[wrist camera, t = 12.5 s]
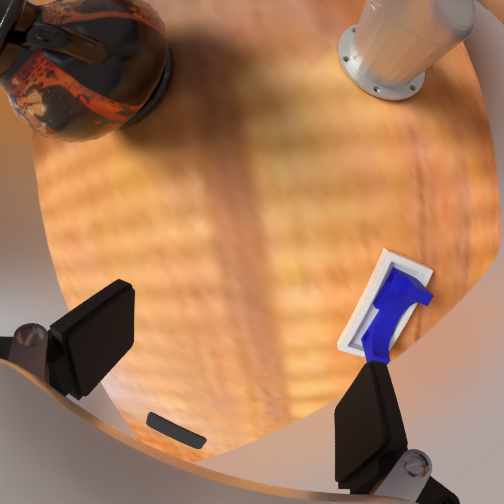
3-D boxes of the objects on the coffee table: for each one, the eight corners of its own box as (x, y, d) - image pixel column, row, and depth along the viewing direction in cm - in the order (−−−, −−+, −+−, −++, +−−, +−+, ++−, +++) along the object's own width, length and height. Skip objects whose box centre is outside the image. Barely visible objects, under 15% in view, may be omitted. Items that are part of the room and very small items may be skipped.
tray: (383, 247, 34) (388, 251, 32) (427, 266, 33) (433, 270, 31) (337, 342, 39) (338, 349, 37) (379, 354, 38) (382, 361, 36)
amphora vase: (70, 128, 37) (-63, 130, 10) (117, 23, 30) (6, -29, 3) (156, 163, 36) (-29, 177, 9) (218, 34, 29) (110, -88, 2)
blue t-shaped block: (393, 266, 33) (407, 283, 28) (416, 278, 33) (433, 296, 28) (352, 335, 37) (358, 360, 32) (375, 344, 37) (384, 368, 31)
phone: (199, 450, 54) (145, 424, 54) (199, 447, 55) (146, 422, 55) (206, 439, 51) (148, 412, 52) (207, 437, 52) (150, 409, 53)
